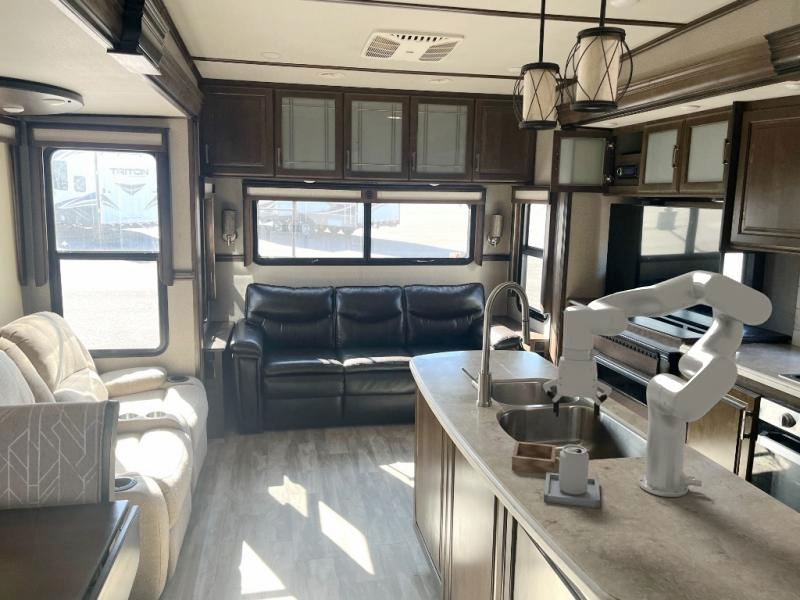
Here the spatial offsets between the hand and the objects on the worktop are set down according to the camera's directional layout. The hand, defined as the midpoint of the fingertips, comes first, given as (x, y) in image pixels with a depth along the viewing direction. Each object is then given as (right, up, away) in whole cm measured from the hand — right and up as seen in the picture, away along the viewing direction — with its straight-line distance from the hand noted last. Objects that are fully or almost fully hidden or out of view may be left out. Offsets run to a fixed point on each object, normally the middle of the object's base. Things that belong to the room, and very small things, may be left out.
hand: (576, 416), depth 164 cm
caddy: (-6, -18, +22) cm, 29 cm away
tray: (0, -21, +4) cm, 21 cm away
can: (0, -21, +3) cm, 21 cm away
